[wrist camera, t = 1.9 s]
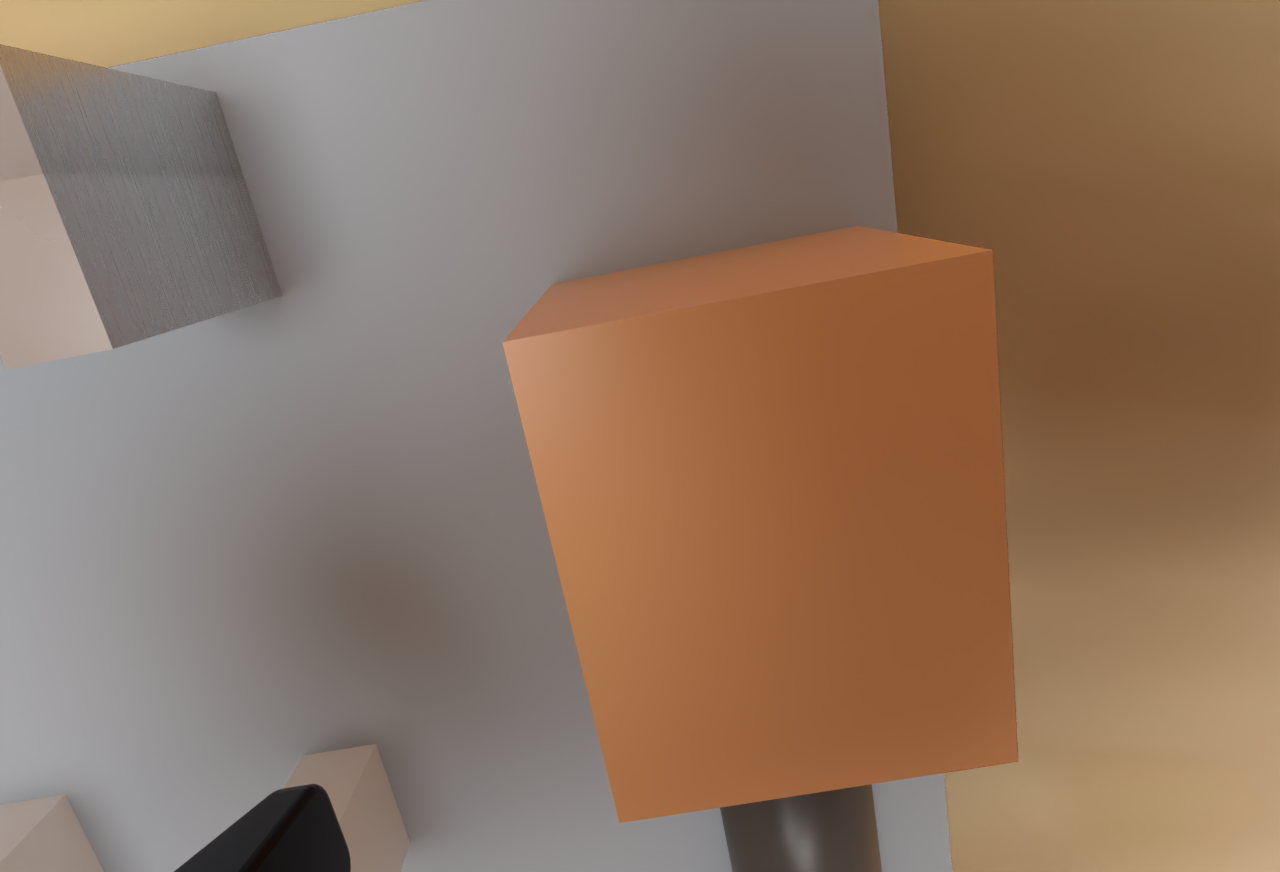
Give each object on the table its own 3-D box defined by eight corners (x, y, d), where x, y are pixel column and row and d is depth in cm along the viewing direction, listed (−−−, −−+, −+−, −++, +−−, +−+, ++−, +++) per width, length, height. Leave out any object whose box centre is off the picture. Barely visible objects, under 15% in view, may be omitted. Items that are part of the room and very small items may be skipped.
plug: (939, 1046, 15) (1048, 1352, 11) (725, 1074, 15) (756, 1386, 11) (858, 225, 10) (992, 249, 6) (551, 284, 10) (502, 342, 6)
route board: (948, 1036, 16) (972, 1101, 15) (114, 1151, 17) (77, 1220, 16) (843, -63, 10) (870, -94, 9) (-431, 206, 11) (-555, 208, 10)
